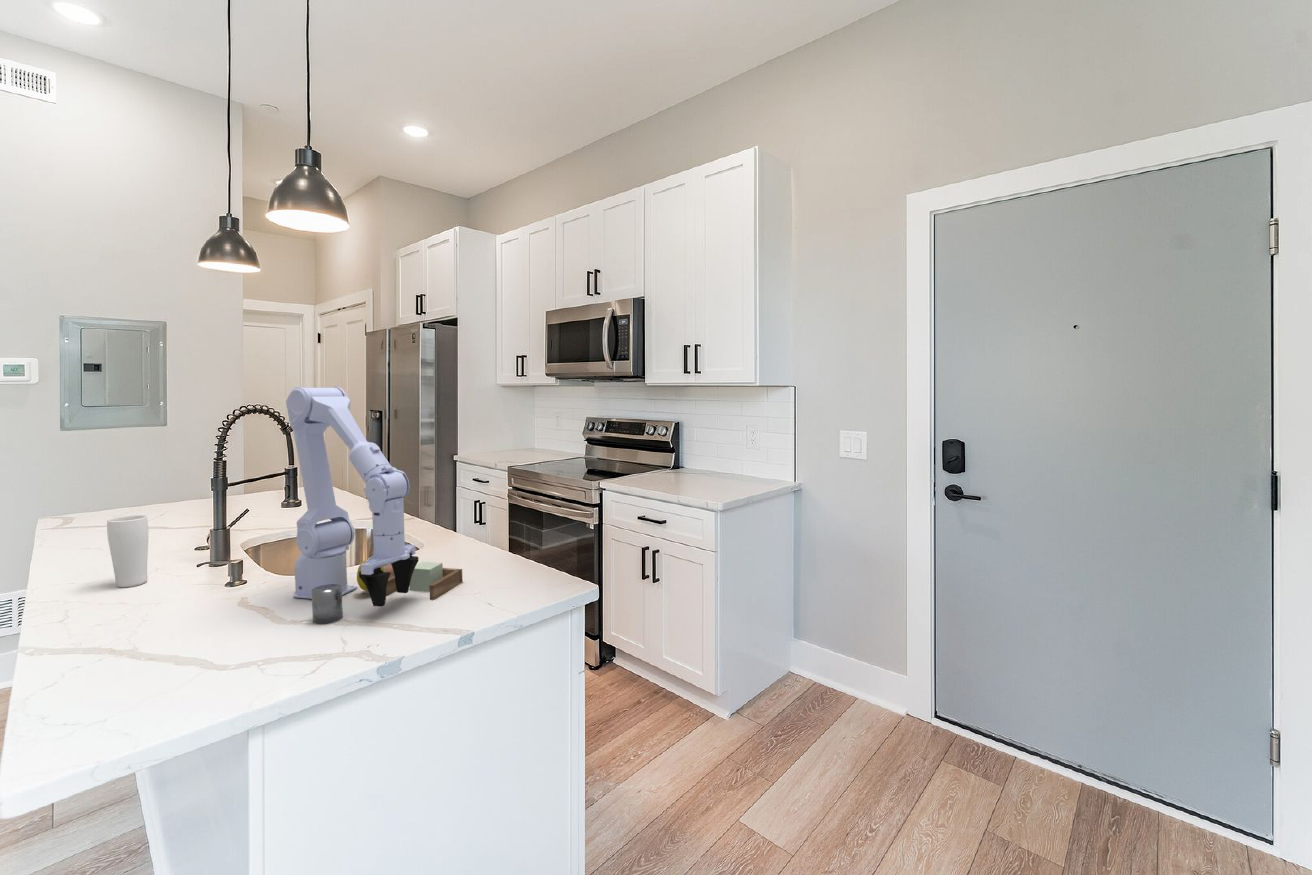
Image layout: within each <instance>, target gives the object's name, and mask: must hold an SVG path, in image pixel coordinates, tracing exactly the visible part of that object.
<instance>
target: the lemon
mask: <svg viewBox="0 0 1312 875" xmlns="http://www.w3.org/2000/svg"><path fill="white" fill-rule="evenodd" d="M371 557H372V556H370V557H368V558H367V559H364V560H363V561H362V562H361V563H360V564H359V565H358V568H357V572H356V581H357V584H358V586H359V587H360V589H362V591H364V592H368V589H367V587H366V586H365V584H364V583H363V581H362V580H361V579H360V577H359V572H360V571H361V564H363V563H365V562H366V561H367V560H368V559H369V558H371ZM381 570H383V572H385V568H384V567H383V568H381Z"/></svg>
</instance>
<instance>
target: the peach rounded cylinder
mask: <svg viewBox="0 0 1312 875" xmlns="http://www.w3.org/2000/svg"><path fill="white" fill-rule="evenodd" d="M384 568H385V572H390V573H391V574H390V576H389V578H391V577H393V576H395V575H394V571H393V568H392V565H391V564H389V565H387V566H385V567H384Z"/></svg>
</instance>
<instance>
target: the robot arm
mask: <svg viewBox="0 0 1312 875" xmlns="http://www.w3.org/2000/svg"><path fill="white" fill-rule="evenodd" d="M285 404H286V409H287V414H288V415H287V416H288V420H289V421H288V422H289V424H290V426H289V427H290V429H292V430H293V431H292V432H293V437H294V441H295V446H296V452H297V458H298V463H299V469H300V474H301V479H302V480H301V481H302V486H303V491H304V497H305V502H306V508H307V511H305V513H304V514H303V515H302V516H301V517H300V518H298V519H297V521H296V528H297V529H296V531H297V532H296V536H295V537H296V538H295V540H296V541H295V542H296V546H297V549H298V550H299V551H300V555H299V556H297V559H296V560H295V564H294V583H295V584H294V585H295V593H294V594H293V595H292V598H295V599H296V598H298V599H299V598H300V599H307V600H309V599H311V600H312V592H311V590H312V589H313V588H315V587H318V586H322V585H328V584H338V585H341V588H342V596H344V595H345V594H346V595H347V593H350V592H352V591H354V590H356V589H357V588H358V586H357V585H350V584H349V585H348V575H347V574H348V572H347V569H348V567H347V551H348V550H350V545H352V543H353V541H354V539H355V533H356V532H355V527H354V525H353V524H352V522H351V520H350V518H349V513H348V511H347V510H346V509H344V508H342V507H340V506H339V505H337V503H336V496H335V492H334V486H333V481H332V477H331V475H332V474H331V470H330V464H329V459H328V453H327V448H326V442H325V437H324V433H325V431H326V430H327V428H330V427H331V429H333V430H334V432H335V433H336V434H337V436H338V437H340V440H342V441H343V443H344V444H345V445H346V446H347V448H348V449H349V450H350V452H349V455H348V459H349V461H350V462H351V464H352V466H353V467H354V469H355V471H357V473H358V475H359V476H360V477H361V479H362V481H363V482H364V483H365V486H364V488H363V492H364V495H365V496H364V497H365V498H366V499H367V501H368V508H369V511H370V512H371V513H372V514H371V515H372V517H371V518H372V539H373V540H372V543H373V555H372V556H370V557H371V558H369V557H368V558H369V559H368V558H367V559H368V560H367V559H366V560H367V561H366V562H365V563H363V564H361V563H360V564H361V571H360V572H359V577H360V579H361V580H362V581H363V583H364V584H365V586H366V587H367V589H368V591H367V592H368V595H369V597H370V601H371V603H372V606H373V607H381V608H383V607H384V606H385V605H386V598H387V596H386V587H387V582H388V579H389V576H390V574H391V573H390V572H383V570H381V568H383V567H385V566H387V565H389V564H391V565H392V568H393V571H394V575H395V583H396V590H397V591H396V593H399V594H400V593H401V594H407V593H409V591H410V581H411V577H412V574H413V571H414V569H415V566H416V564H418V562H419V556H415V555H416V544H405V543H406V541H405V538H406V537H405V512H404V510H405V508H404V499H405V498H406V497H407V496H408V494H409V493H410V486H411V485H410V481H409V478H408V477H407V474H406V473H405V472H404V471H403V470H398V469H397V468H396V467H394V466H392V465H391V463H390V462H389V461H388V459H387V458H386V456H385V455H384V453H383V452H382V451H381V448H380V447H379V445H377V444H376V443H375V442H370V441H368V440H367V439H366V437H365V436H364V433H363V432H362V430H361V429H360V427H359V425H358V423H357V421H356V419H355V418H354V416H353V414H352V412H351V411H350V410H351V400H350V398H349V397H348V395H347V393H346V391H345V389H343V388H341V387H339V386H333V387H303V386H296V387H294V388H293V389H292V390H291V391H290V393H289V394H288V396H287V398H286V401H285ZM327 520H329V521H327ZM322 521H325V522H322Z"/></svg>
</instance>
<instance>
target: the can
mask: <svg viewBox="0 0 1312 875" xmlns="http://www.w3.org/2000/svg"><path fill="white" fill-rule="evenodd" d="M311 592H312V599H311V610H312V611H311V612H312V622H313V624H316V625H329V624H333V623H336V622H338V621H341V620H342V619H343V617H344V616H343V614H344V613H343V595H342V588H341V585H338V584H328V585H322V586H318V587H315V588H313V589H312V590H311Z"/></svg>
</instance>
